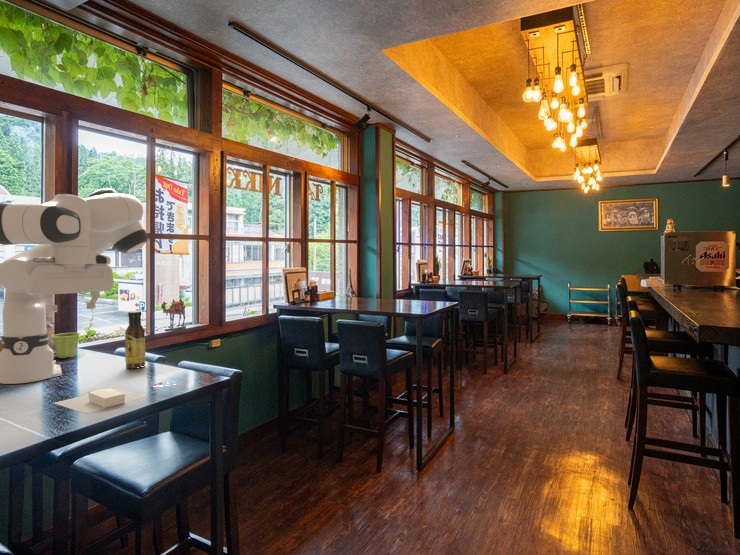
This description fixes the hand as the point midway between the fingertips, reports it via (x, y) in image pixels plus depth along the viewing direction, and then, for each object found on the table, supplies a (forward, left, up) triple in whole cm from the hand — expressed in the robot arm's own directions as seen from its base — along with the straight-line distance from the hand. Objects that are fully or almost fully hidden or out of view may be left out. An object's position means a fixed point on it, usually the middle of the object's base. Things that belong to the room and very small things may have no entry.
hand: (72, 310), depth 121 cm
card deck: (+1, +6, -23) cm, 24 cm away
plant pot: (-70, -12, -25) cm, 75 cm away
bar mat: (+1, +6, -25) cm, 26 cm away
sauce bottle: (-38, +13, -25) cm, 47 cm away
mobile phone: (-14, +21, -25) cm, 36 cm away
